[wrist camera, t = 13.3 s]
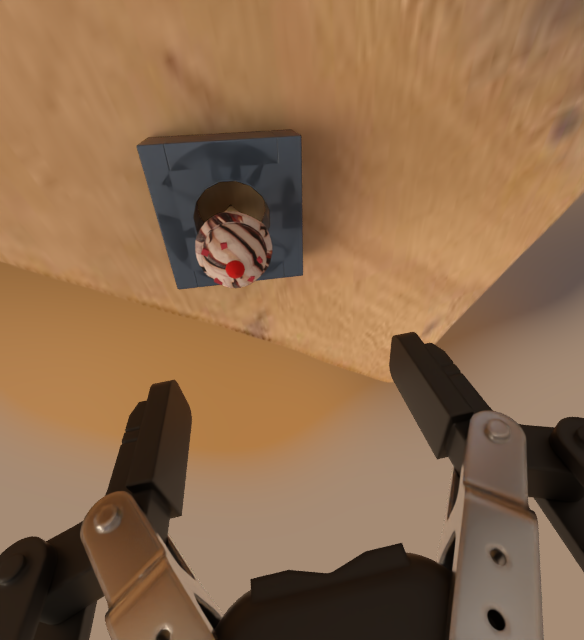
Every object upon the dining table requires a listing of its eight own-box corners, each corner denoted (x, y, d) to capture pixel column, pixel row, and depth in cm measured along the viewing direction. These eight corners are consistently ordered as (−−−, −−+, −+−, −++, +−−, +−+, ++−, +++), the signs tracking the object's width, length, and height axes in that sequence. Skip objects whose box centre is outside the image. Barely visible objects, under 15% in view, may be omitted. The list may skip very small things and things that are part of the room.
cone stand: (292, 129, 29) (301, 135, 26) (295, 257, 37) (303, 275, 34) (147, 137, 28) (135, 145, 24) (182, 269, 36) (177, 289, 32)
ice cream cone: (268, 193, 32) (294, 256, 21) (245, 241, 35) (256, 321, 23) (215, 164, 30) (210, 216, 18) (194, 218, 33) (178, 294, 21)
